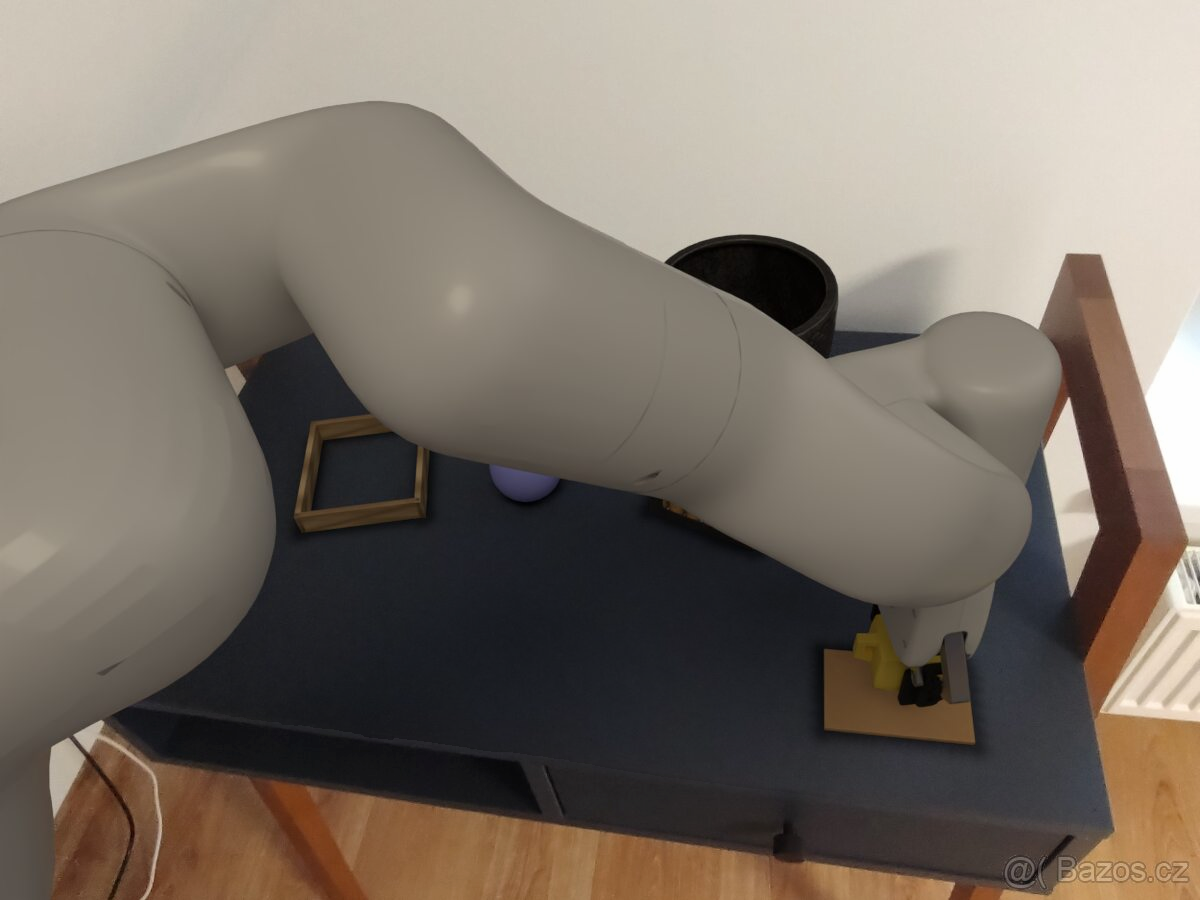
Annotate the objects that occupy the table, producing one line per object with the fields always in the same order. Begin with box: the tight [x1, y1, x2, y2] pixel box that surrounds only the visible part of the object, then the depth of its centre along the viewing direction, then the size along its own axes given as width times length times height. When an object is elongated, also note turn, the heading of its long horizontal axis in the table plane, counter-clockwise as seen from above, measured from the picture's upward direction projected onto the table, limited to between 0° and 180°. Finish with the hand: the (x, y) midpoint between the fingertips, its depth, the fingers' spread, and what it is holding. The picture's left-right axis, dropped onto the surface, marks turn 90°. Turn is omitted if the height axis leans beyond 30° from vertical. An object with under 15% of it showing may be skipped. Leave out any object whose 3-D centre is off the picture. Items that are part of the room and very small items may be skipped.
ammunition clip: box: [648, 496, 755, 552], centre depth 83 cm, size 11×2×12 cm, turn 60°
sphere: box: [489, 464, 561, 503], centre depth 89 cm, size 7×7×7 cm
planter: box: [663, 233, 840, 359], centre depth 91 cm, size 17×17×16 cm
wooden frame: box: [293, 413, 431, 534], centre depth 94 cm, size 13×12×2 cm
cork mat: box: [823, 648, 976, 746], centre depth 73 cm, size 7×11×1 cm, turn 81°
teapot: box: [852, 614, 941, 691], centre depth 68 cm, size 8×6×5 cm
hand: (905, 657), depth 69 cm, fingers closed on teapot, 6 cm apart
